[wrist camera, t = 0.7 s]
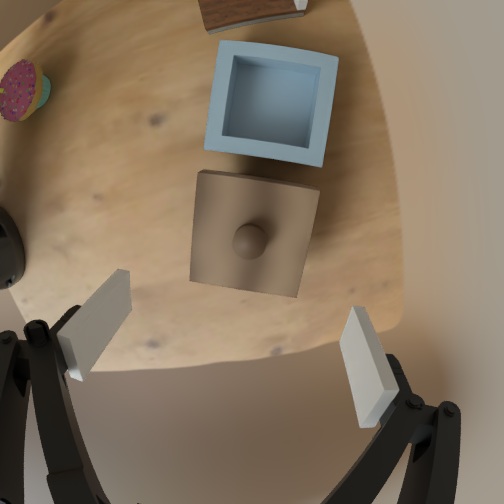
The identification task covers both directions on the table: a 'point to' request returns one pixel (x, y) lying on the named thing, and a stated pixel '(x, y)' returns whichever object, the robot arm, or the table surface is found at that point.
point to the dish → (271, 102)
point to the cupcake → (23, 90)
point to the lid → (251, 232)
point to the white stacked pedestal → (247, 12)
